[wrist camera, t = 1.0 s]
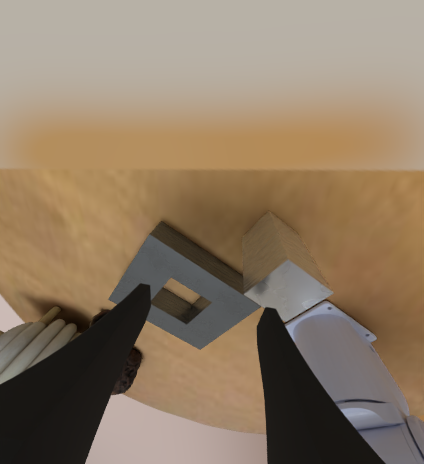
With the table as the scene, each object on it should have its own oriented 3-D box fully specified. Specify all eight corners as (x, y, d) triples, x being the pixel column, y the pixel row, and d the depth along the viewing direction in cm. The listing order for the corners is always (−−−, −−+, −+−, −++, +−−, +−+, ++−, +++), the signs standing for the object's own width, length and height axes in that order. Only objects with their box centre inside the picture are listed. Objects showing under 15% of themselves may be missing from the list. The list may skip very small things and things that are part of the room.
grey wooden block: (298, 233, 19) (333, 293, 12) (269, 257, 20) (286, 322, 13) (268, 210, 18) (288, 259, 11) (241, 237, 20) (243, 294, 13)
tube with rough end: (101, 305, 29) (73, 341, 24) (142, 314, 29) (123, 351, 24) (112, 363, 37) (93, 398, 32) (144, 370, 37) (130, 407, 32)
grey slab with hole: (258, 286, 22) (260, 306, 20) (203, 329, 28) (200, 349, 25) (161, 221, 20) (149, 234, 17) (121, 282, 25) (108, 299, 23)
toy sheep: (103, 355, 36) (53, 437, 26) (18, 311, 32) (-76, 387, 23) (126, 333, 31) (75, 423, 22) (30, 279, 28) (-83, 358, 18)
